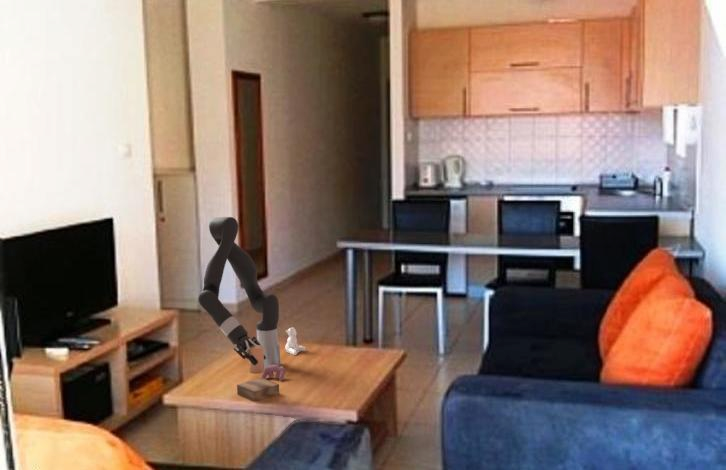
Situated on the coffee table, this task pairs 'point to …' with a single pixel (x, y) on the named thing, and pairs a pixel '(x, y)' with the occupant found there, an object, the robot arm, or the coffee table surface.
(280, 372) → the pink gamepad
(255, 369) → the peach orange capsule
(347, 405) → the coffee table surface
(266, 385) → the walnut block
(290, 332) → the seated beast figurine
